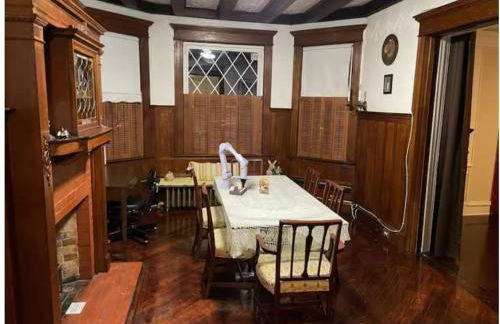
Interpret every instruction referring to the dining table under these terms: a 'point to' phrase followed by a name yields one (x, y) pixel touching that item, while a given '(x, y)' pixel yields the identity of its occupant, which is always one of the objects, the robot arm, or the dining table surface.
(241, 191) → the switch bank
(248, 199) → the dining table surface
